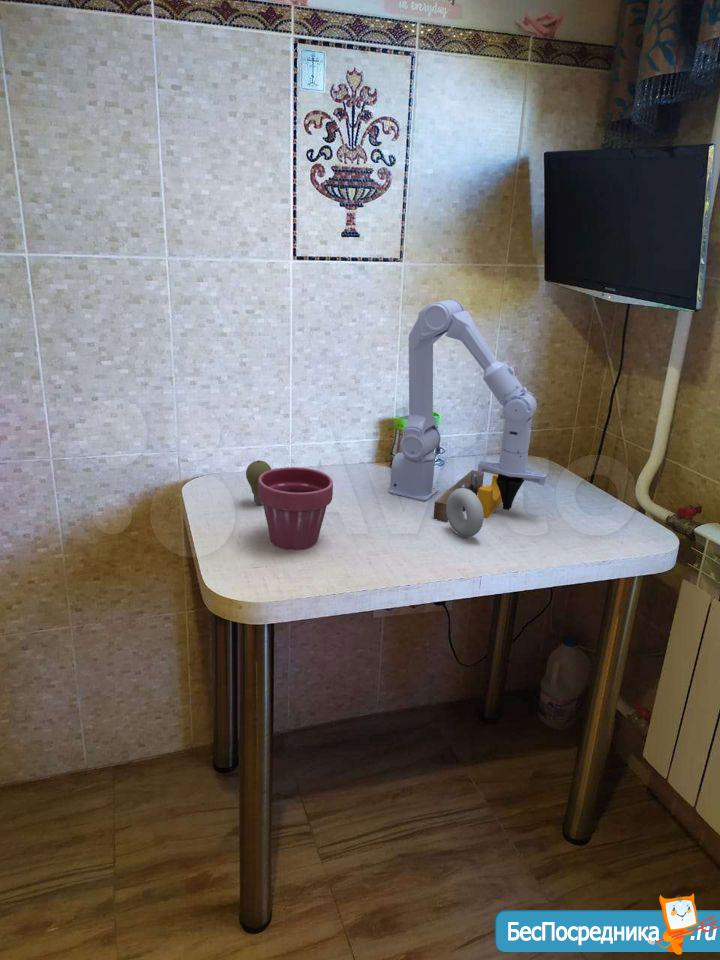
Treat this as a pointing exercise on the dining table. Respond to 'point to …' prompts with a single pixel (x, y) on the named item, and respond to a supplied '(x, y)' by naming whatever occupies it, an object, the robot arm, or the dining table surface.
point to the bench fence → (468, 482)
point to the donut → (473, 512)
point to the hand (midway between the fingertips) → (507, 508)
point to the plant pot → (294, 505)
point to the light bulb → (256, 476)
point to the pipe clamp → (490, 497)
